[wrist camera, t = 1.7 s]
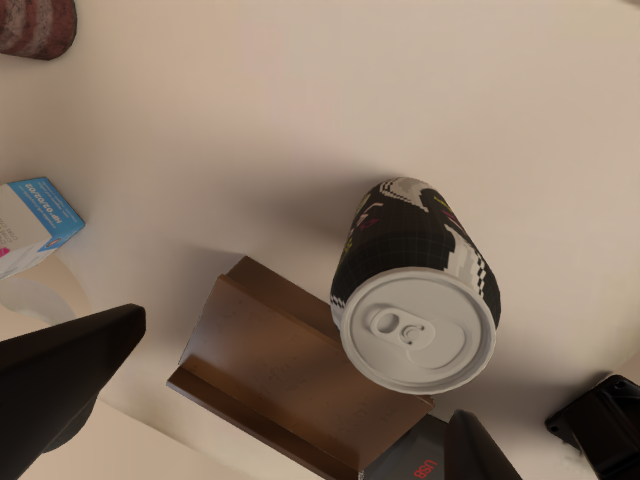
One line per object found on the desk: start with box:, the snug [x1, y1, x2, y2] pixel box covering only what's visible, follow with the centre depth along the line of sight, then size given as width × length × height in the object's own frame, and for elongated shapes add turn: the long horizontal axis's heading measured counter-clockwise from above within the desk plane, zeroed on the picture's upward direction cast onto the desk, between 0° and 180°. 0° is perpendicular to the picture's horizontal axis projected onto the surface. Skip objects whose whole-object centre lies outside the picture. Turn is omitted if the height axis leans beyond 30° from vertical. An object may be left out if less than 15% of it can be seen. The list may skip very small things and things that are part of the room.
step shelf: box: [166, 256, 434, 480], centre depth 23 cm, size 16×10×6 cm, turn 62°
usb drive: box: [364, 414, 448, 480], centre depth 27 cm, size 5×12×3 cm, turn 158°
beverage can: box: [330, 178, 501, 395], centre depth 15 cm, size 6×6×12 cm
